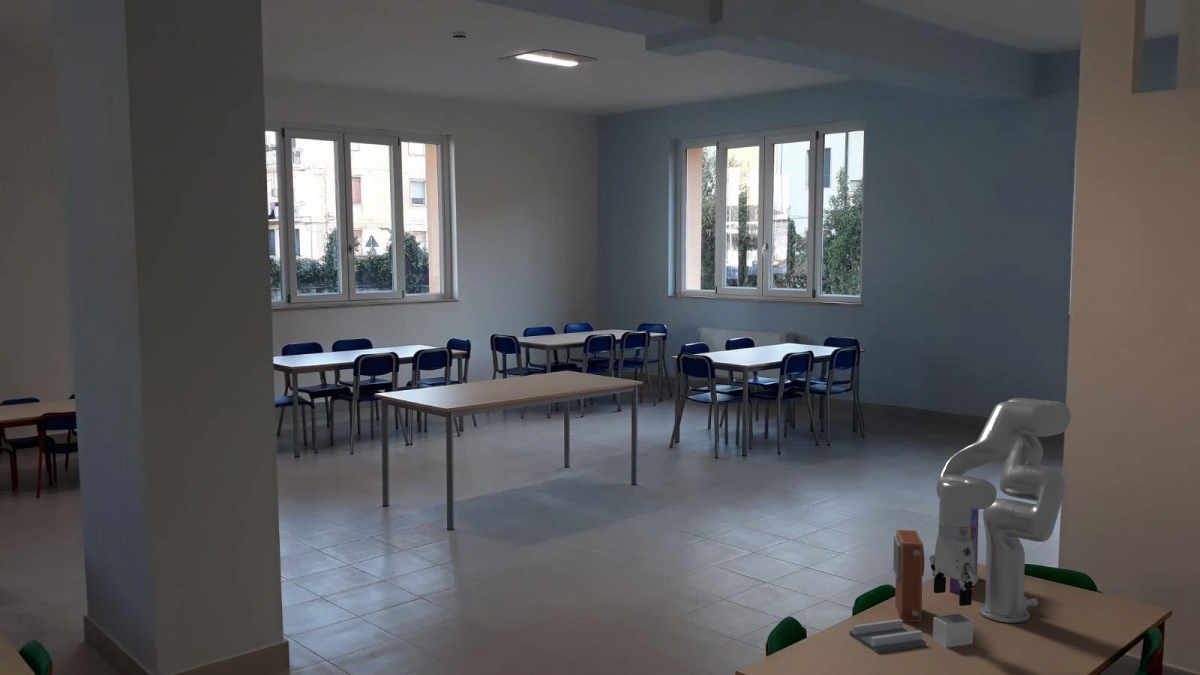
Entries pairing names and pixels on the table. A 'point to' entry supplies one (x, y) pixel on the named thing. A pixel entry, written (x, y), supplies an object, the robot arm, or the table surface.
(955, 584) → the cereal box
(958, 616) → the block
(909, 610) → the orange upright battery pack
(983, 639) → the table surface
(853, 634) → the grey rail base plate
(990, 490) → the robot arm
